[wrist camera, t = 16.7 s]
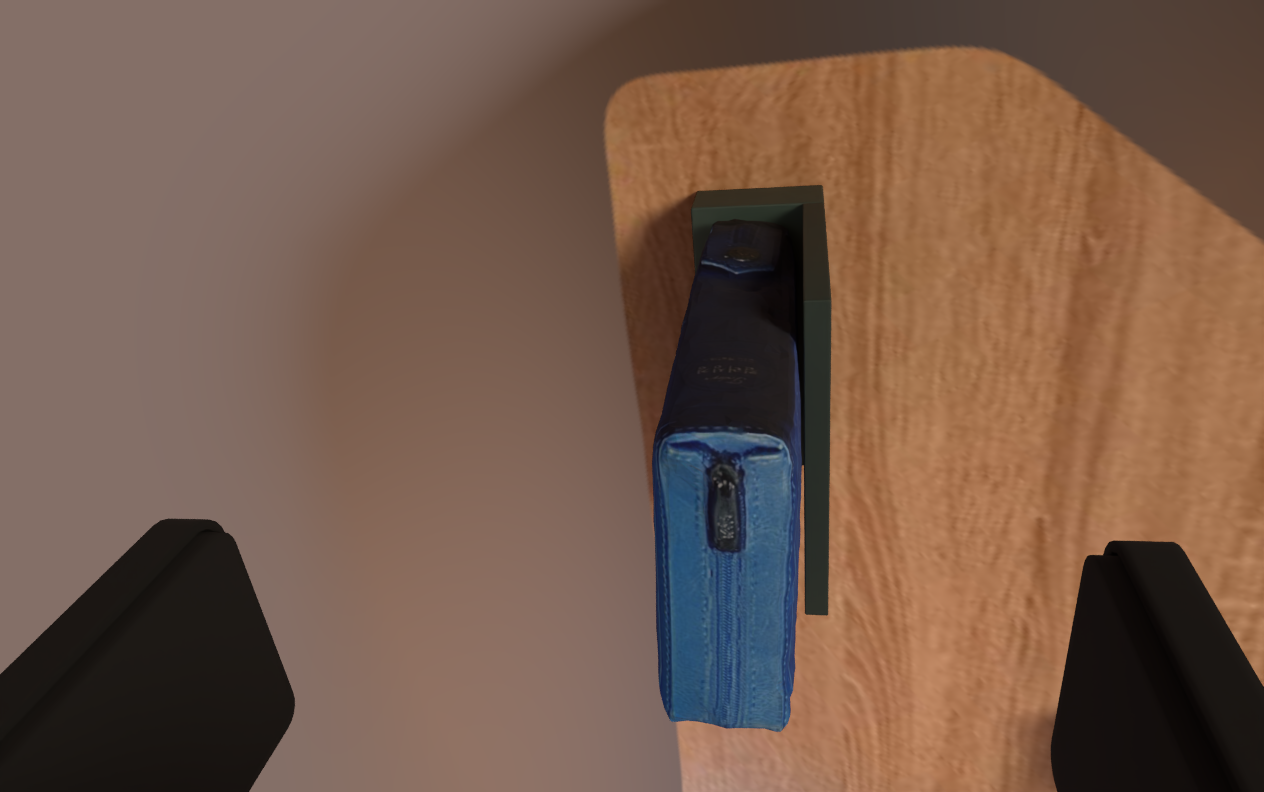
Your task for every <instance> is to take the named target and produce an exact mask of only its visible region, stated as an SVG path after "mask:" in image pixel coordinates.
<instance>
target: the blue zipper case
mask: <svg viewBox="0 0 1264 792" xmlns="http://www.w3.org/2000/svg"><path fill="white" fill-rule="evenodd" d="M801 468H802V456H801V399H800V381H799V350H798V319H797V290H796V263H795V257H794V253H793V247H792V240H791V237H790V234H789V231H788V229H786V228H785V227H783V226H781V225H778V224H776V223H771V222H765V221H745V220H739V219H732V220H729V221H717V222H715V223H714V224H713V225H712V228H711V231H710V234H709V236H708V239H707V241H706V243H705V246H704V248H703V250H702V254H701V258H700V261H699V265H698V268H697V271H696V274H695V278H694V281H693V285H692V289H691V293H690V298H689V303H688V307H687V310H686V314H685V317H684V320H683V324H682V327H681V335H680V338H679V342H678V347H677V351H676V356H675V359H674V363H673V367H672V371H671V375H670V380H669V384H668V388H667V392H666V397H665V402H664V406H663V411H662V415H661V418H660V421H659V424H658V427H657V430H656V434H655V439H654V445H653V458H652V473H653V496H654V531H655V556H656V624H657V625H656V629H657V642H658V673H659V686H660V693H661V697H662V701H663V705H664V708H665V710H666V712H667V715H668V717H669V719H670V720H671V721H674V722H678V721H687V720H689V721H698V722H703V723H709V724H714V725H717V726H720V727H724V728H765V729H769V730H772V731H776V732H781V731H782V729H783V728H784V727H785V726H786V725H787V724H788V721H789V718H790V711H791V709H790V696H791V694H792V691H793V683H794V672H795V657H794V654H795V625H796V618H797V615H796V612H797V598H798V564H799V547H800V503H801Z"/></svg>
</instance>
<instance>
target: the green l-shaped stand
mask: <svg viewBox="0 0 1264 792" xmlns="http://www.w3.org/2000/svg"><path fill="white" fill-rule="evenodd" d="M691 219H692V234H693V249H694V264H695V274H696V271H697V268H698V265H699V261H700V258H701V254H702V250H703V248H704V246H705V243H706V241H707V239H708V236H709V234H710V231H711V228H712V225H713V224H714V223H715V222H717V221H729V220H732V219H739V220H745V221H765V222H771V223H776V224H778V225H781V226H783V227H785V228H786V229H788V231H789V234H790V237H791V240H792V247H793V253H794V257H795V263H796V290H797V319H798V350H799V381H800V399H801V456H802V465H804V529H805V614H806V615H828V575H829V480H830V385H831V289H830V276H829V262H828V249H827V236H826V222H825V209H824V196H823V186H822V185H815V186H794V187H774V188H753V189H733V190H713V191H698V192H697V194H696V196H695V199H694V202H693V205H692V208H691Z"/></svg>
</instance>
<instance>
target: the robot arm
mask: <svg viewBox="0 0 1264 792" xmlns="http://www.w3.org/2000/svg"><path fill="white" fill-rule="evenodd" d="M294 707H295V698H294V694H293V691H292V688H291V685H290V683H289V680H288V678H287V675H286V672H285V670H284V667H283V664H282V662H281V660H280V657H279V654H278V651H277V649H276V646H275V644H274V641H273V638H272V636H271V633H270V631H269V628H268V625H267V623H266V620H265V617H264V615H263V612H262V610H261V607H260V604H259V602H258V599H257V597H256V594H255V592H254V589H253V586H252V583H251V581H250V579H249V576H248V573H247V570H246V568H245V565H244V563H243V560H242V557H241V555H240V552H239V549H238V547H237V544H236V542H235V540H234V538H233V537H232V536H231V535H230V534H228V533H225V532H224V530H223V528H222V527H221V526H220V525H219V524H218V523H217V522H215V521H212V520H205V519H204V520H203V519H165V520H161V521H159V522H158V523H157V524H155V525H154V526H152V528H150V529H149V530H148V531H147V532H146V533H145V534H144V535H143V536H142V537H141V538H140V539H139V540H138V541H137V542H136V543H135V544H134V545H133V546H132V547H131V548H130V549H129V550H128V551H127V552H126V553H125V554H124V555H123V556H122V557H121V558H120V559H119V560H118V561H116V562H115V563H114V565H112V566H111V567H110V568H109V569H108V570H107V571H106V572H105V573H104V574H103V575H102V576H101V577H100V578H99V579H98V580H97V581H96V582H95V583H94V584H93V585H92V586H91V587H90V588H89V589H88V590H87V591H86V592H85V593H84V594H83V595H81V597H79V598H78V599H77V600H76V601H75V602H74V603H73V604H72V605H71V606H70V607H69V608H68V609H67V610H66V611H65V612H64V613H63V614H62V615H61V616H60V617H59V618H58V619H57V620H56V621H55V622H54V623H53V624H52V625H51V626H50V627H49V628H48V629H47V630H45V631H44V632H43V633H42V634H41V635H40V636H39V637H38V638H37V639H36V640H35V641H34V642H33V643H32V644H31V645H30V646H29V647H28V648H27V649H26V650H25V651H24V652H23V653H22V654H21V655H20V656H19V657H18V658H17V659H16V660H15V661H14V662H13V663H12V664H10V665H9V667H7V668H6V670H4V671H3V672H2V673H1V674H0V792H249V791H250V789H251V787H252V786H253V784H254V782H255V781H256V779H257V778H258V776H259V774H260V773H261V771H262V769H263V768H264V766H265V765H266V763H267V761H268V760H269V758H270V756H271V755H272V753H273V752H274V750H275V748H276V747H277V745H278V743H279V742H280V740H281V739H282V737H283V735H284V734H285V732H286V730H287V729H288V727H289V725H290V723H291V721H292V717H293V714H294ZM1051 764H1052V771H1053V777H1054V781H1055V785H1056V788H1057V792H1264V687H1263V685H1262V684H1261V682H1260V680H1259V678H1258V677H1257V675H1256V673H1255V672H1254V670H1253V668H1252V666H1251V665H1250V663H1249V661H1248V660H1247V658H1246V656H1245V654H1244V653H1243V651H1242V649H1241V648H1240V646H1239V644H1238V643H1237V641H1236V639H1235V637H1234V636H1233V634H1232V632H1231V631H1230V629H1229V627H1228V625H1227V624H1226V622H1225V620H1224V619H1223V617H1222V615H1221V613H1220V612H1219V610H1218V608H1217V607H1216V605H1215V603H1214V601H1213V600H1212V598H1211V596H1210V595H1209V593H1208V591H1207V589H1206V588H1205V586H1204V584H1203V583H1202V581H1201V579H1200V578H1199V576H1198V574H1197V572H1196V571H1195V569H1194V567H1193V566H1192V564H1191V562H1190V560H1189V559H1188V557H1187V555H1186V554H1185V552H1184V551H1183V549H1182V548H1181V547H1180V546H1179V545H1178V544H1176V543H1174V542H1149V541H1111V542H1109V543H1108V545H1107V546H1106V548H1105V551H1104V554H1103V555H1089V556H1087V558H1086V560H1085V562H1084V566H1083V571H1082V576H1081V582H1080V587H1079V593H1078V598H1077V604H1076V609H1075V615H1074V620H1073V626H1072V631H1071V637H1070V642H1069V648H1068V653H1067V659H1066V664H1065V670H1064V675H1063V681H1062V686H1061V692H1060V697H1059V703H1058V708H1057V714H1056V719H1055V725H1054V730H1053V736H1052V742H1051Z"/></svg>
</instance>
